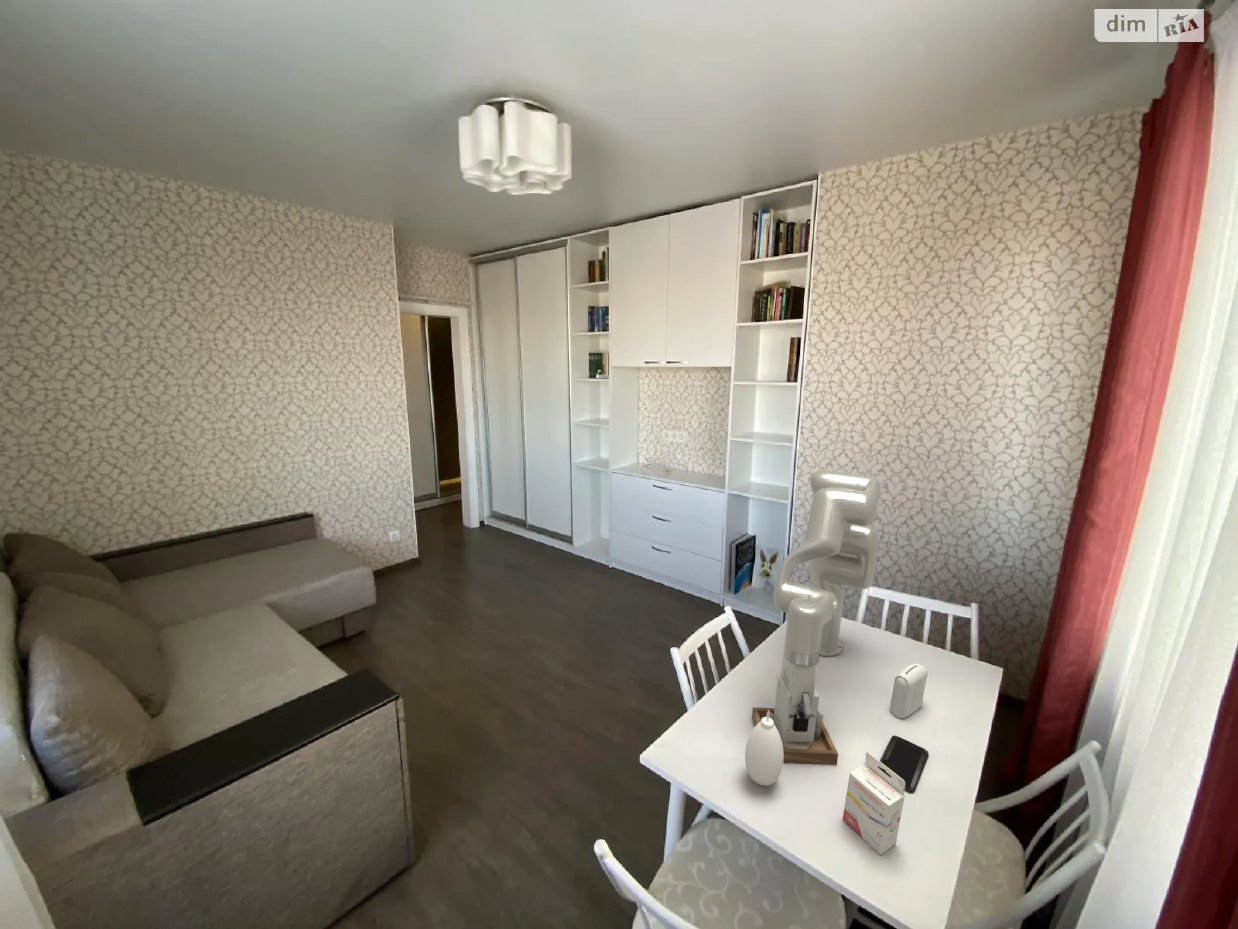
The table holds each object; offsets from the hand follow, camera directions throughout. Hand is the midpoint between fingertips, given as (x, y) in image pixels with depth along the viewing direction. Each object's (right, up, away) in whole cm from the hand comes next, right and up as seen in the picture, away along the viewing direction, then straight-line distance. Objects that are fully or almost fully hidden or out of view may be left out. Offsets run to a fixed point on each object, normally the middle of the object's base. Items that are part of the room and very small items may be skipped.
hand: (794, 717), depth 120 cm
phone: (+23, -9, -5) cm, 25 cm away
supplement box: (0, -4, +1) cm, 4 cm away
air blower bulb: (-11, -9, -10) cm, 17 cm away
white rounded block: (+33, -4, +12) cm, 36 cm away
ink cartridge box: (+7, -12, -21) cm, 25 cm away
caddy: (0, -6, +1) cm, 6 cm away
